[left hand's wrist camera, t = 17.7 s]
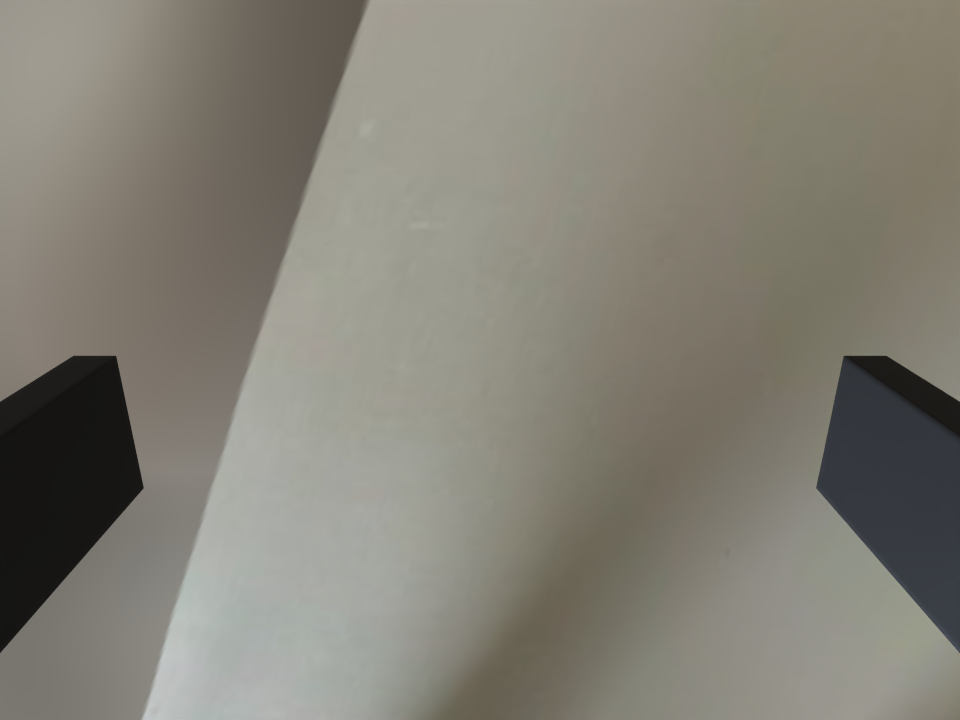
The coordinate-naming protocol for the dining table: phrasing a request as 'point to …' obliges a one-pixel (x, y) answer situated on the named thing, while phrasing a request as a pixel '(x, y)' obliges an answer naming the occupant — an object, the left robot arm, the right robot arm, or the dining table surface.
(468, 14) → the dining table surface
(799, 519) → the dining table surface
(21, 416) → the left robot arm
